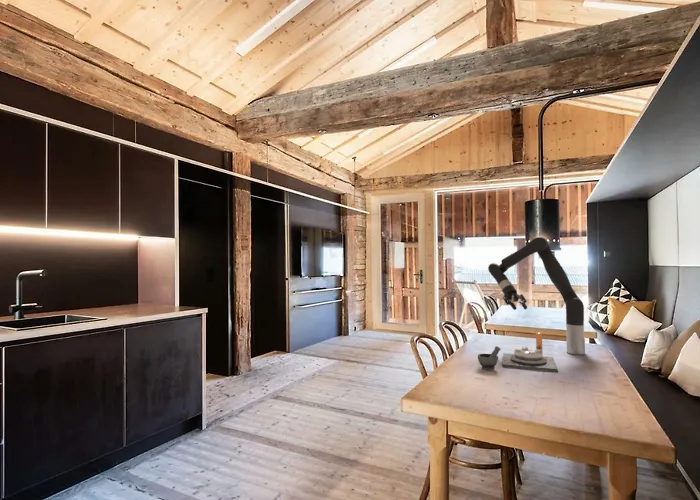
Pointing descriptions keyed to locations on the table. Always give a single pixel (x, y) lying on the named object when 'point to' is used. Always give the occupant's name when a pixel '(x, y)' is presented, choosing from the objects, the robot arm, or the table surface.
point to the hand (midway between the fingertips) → (520, 308)
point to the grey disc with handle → (531, 351)
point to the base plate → (531, 367)
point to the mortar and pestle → (489, 359)
